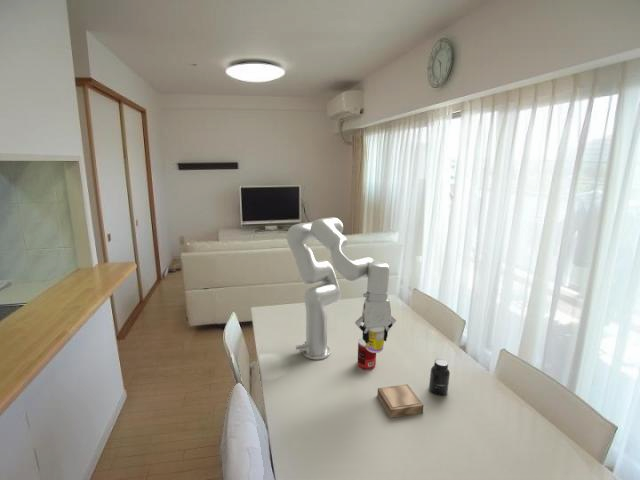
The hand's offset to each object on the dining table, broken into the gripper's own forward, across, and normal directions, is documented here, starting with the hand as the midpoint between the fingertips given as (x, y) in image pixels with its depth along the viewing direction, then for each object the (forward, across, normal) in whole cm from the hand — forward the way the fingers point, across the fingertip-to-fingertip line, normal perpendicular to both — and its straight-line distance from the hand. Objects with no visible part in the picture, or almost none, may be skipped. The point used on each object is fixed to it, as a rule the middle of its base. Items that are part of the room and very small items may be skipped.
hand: (374, 340), depth 131 cm
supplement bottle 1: (+4, 0, 0) cm, 4 cm away
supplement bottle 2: (+20, +24, -8) cm, 32 cm away
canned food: (+20, +3, +14) cm, 25 cm away
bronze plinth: (+19, +6, -12) cm, 23 cm away
